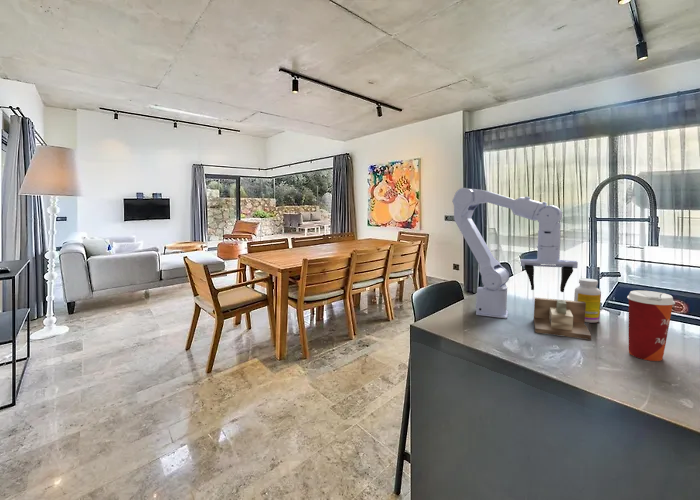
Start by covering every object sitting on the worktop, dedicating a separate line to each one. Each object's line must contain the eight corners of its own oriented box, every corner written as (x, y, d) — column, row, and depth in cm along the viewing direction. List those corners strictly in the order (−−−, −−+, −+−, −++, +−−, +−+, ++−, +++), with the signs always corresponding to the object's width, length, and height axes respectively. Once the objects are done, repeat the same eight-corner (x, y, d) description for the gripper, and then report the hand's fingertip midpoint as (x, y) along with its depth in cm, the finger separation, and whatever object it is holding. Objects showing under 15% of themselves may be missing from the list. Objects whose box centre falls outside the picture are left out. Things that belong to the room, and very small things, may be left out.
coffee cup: (674, 366, 71) (681, 300, 70) (626, 358, 76) (631, 296, 74) (663, 352, 78) (669, 291, 77) (619, 345, 83) (624, 288, 81)
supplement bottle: (603, 324, 98) (606, 282, 96) (579, 323, 99) (581, 281, 98) (592, 316, 104) (594, 277, 103) (569, 316, 106) (571, 277, 104)
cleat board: (535, 332, 93) (536, 307, 92) (533, 319, 103) (534, 297, 102) (591, 339, 87) (592, 313, 86) (583, 325, 97) (584, 301, 96)
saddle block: (551, 327, 93) (552, 304, 92) (549, 319, 99) (550, 297, 98) (572, 330, 90) (573, 306, 89) (568, 321, 97) (570, 299, 96)
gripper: (521, 246, 97) (520, 291, 98) (580, 247, 90) (577, 295, 92) (521, 244, 103) (520, 286, 105) (576, 245, 96) (574, 289, 98)
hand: (546, 290), depth 99 cm, fingers open, 7 cm apart
